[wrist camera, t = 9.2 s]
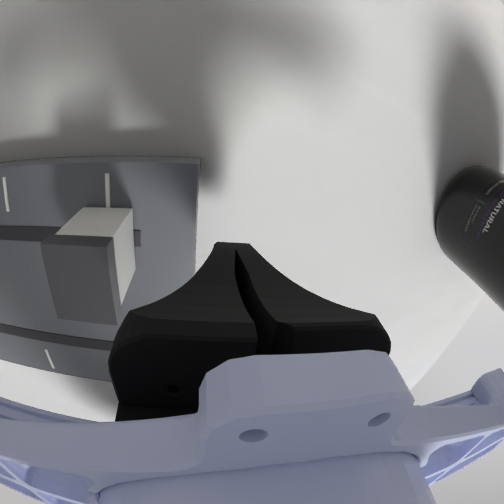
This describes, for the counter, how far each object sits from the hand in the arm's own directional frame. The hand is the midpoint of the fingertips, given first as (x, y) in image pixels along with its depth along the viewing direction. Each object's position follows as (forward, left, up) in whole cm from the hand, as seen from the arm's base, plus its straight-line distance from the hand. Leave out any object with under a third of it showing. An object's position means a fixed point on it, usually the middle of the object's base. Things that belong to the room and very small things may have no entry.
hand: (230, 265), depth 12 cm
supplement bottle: (+2, -15, -4) cm, 16 cm away
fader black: (0, +6, -2) cm, 6 cm away
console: (-4, +12, -4) cm, 13 cm away
